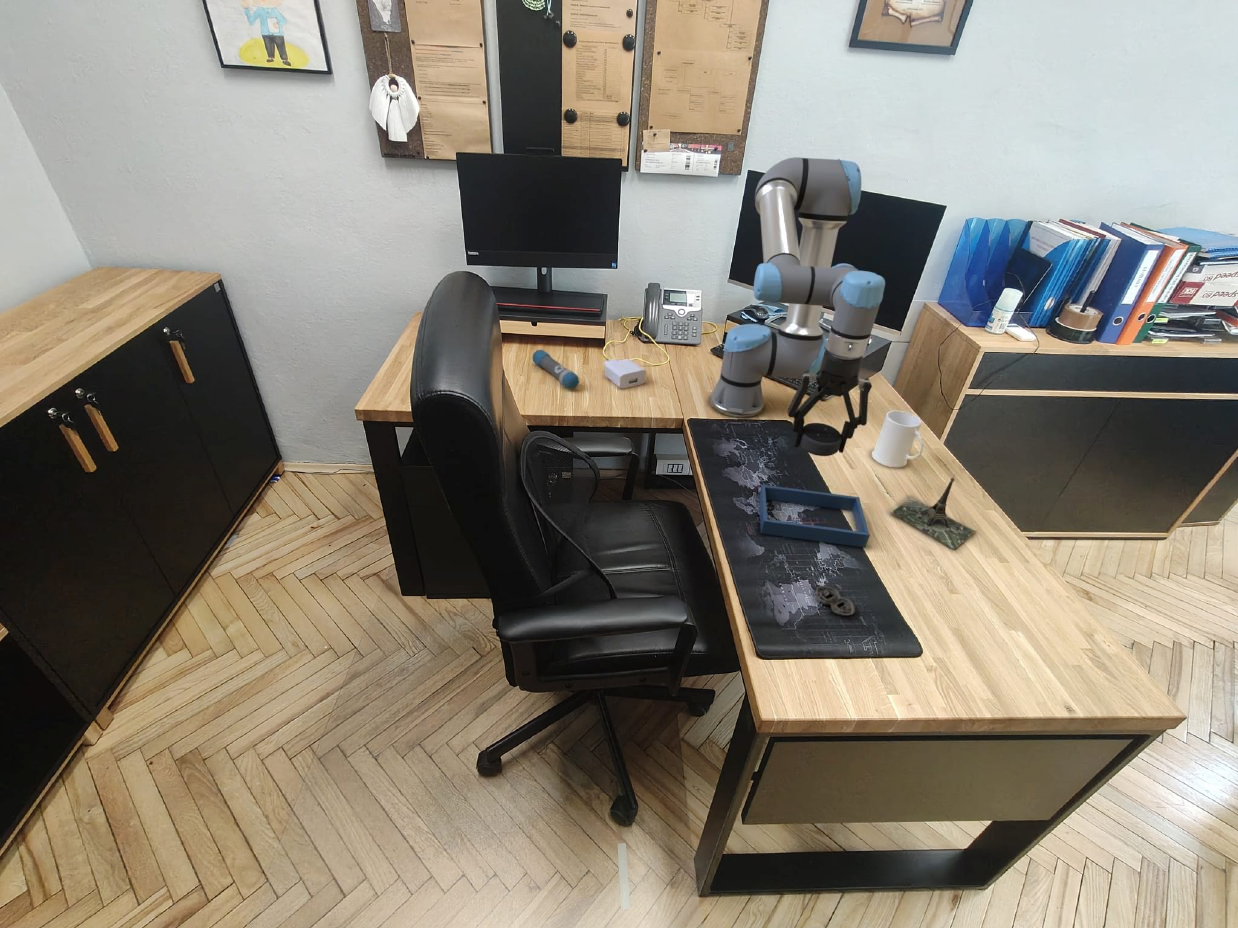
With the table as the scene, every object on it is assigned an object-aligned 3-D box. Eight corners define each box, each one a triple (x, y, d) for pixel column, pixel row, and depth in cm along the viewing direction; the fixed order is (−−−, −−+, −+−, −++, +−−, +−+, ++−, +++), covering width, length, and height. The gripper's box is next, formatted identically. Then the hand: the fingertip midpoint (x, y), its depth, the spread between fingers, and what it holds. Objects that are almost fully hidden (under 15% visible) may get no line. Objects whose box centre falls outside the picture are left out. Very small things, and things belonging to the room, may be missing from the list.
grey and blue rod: (546, 362, 191) (545, 347, 188) (581, 389, 177) (581, 374, 174) (532, 365, 189) (531, 351, 186) (567, 393, 174) (567, 378, 171)
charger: (620, 364, 192) (645, 383, 182) (595, 370, 188) (619, 389, 178) (620, 350, 189) (646, 369, 179) (595, 356, 185) (620, 375, 175)
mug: (923, 471, 148) (940, 430, 141) (897, 477, 146) (913, 436, 139) (890, 447, 157) (904, 407, 150) (864, 452, 154) (878, 412, 148)
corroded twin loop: (842, 623, 107) (844, 619, 106) (808, 594, 112) (809, 591, 111) (860, 611, 109) (861, 607, 108) (825, 584, 114) (826, 580, 114)
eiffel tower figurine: (888, 514, 133) (907, 465, 126) (911, 498, 139) (930, 450, 131) (953, 551, 124) (978, 501, 116) (975, 532, 130) (1000, 483, 122)
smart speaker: (789, 446, 131) (793, 431, 129) (809, 431, 137) (813, 417, 134) (826, 463, 126) (831, 447, 124) (845, 447, 132) (850, 432, 130)
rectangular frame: (758, 496, 137) (761, 484, 135) (854, 509, 135) (859, 496, 133) (760, 533, 126) (763, 520, 124) (865, 547, 124) (870, 535, 122)
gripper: (790, 354, 116) (769, 449, 129) (904, 366, 114) (871, 462, 127) (788, 339, 122) (767, 432, 135) (896, 350, 120) (865, 443, 133)
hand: (817, 446), depth 131 cm, fingers closed on smart speaker, 9 cm apart
